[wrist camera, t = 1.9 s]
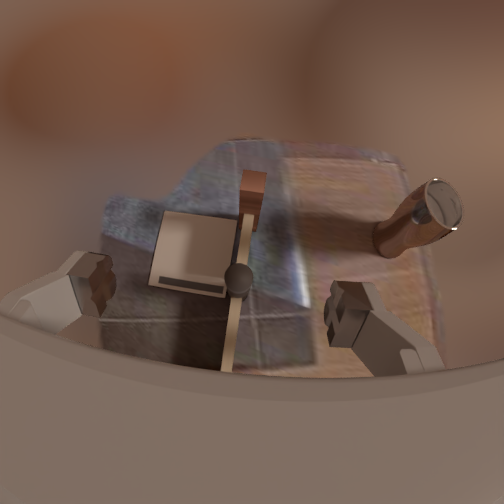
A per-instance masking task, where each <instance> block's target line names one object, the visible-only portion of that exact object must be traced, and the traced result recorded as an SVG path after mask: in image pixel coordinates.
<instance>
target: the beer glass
mask: <svg viewBox="0 0 504 504" xmlns="http://www.w3.org/2000/svg"><path fill="white" fill-rule="evenodd" d="M463 219H464V207H463V204H462V200H461V198H460V196H459V194H458V192H457V191H456V190H455V189H454V187H453V186H452V185H451V184H450V183H449V182H447V181H446V180H444V179H441V178H432V179H430V180H429V181H428V182H426V183H425V184H423V185H421V186H420V187H419V188H417V189H416V190H414V191H413V192H412V193H411V194H410V195H408V196H407V197H406V198H405V199H404V201H403V202H402V203H401V204H400V205H399V207H398V208H397V210H396V211H395V212H394V214H393V215H392V216H391V217H390V218H389V219H388V220H385V221H382V222H380V223H378V224H377V225H376V227H375V228H374V231H373V236H372V238H373V243H374V246H375V248H376V250H377V251H378V252H379V253H380V254H381V255H382V256H384V257H386V258H396V257H398V256H400V255H401V254H402V253H403V252H404V251H405V250H406V249H409V248H414V247H419V246H424V245H428V244H431V243H433V242H436V241H438V240H440V239H442V238H443V237H445V236H447V235H448V234H450V233H451V232H452V231H454V230H455V229H457V228H459V227H460V226H461V224H462V222H463Z"/></svg>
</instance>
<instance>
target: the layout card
mask: <svg viewBox="0 0 504 504" xmlns="http://www.w3.org/2000/svg"><path fill="white" fill-rule="evenodd" d="M236 227H237V220H231V219H224V218H216V217H209V216H202V215H194V214H187V213H179V212H171V211H165V212H164V216H163V220H162V224H161V228H160V232H159V236H158V241H157V245H156V250H155V254H154V259H153V264H152V268H151V273H150V279H149V284H148V285H151V286H156V287H162V288H167V289H173V290H178V291H184V292H190V293H196V294H202V295H208V296H214V297H220V298H225V296H226V289H227V287H226V284H225V280H224V275H225V271H226V270H227V268H228V267H229V266H230V264H231V258H232V251H233V245H234V239H235V233H236Z"/></svg>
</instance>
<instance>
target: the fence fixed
mask: <svg viewBox="0 0 504 504" xmlns="http://www.w3.org/2000/svg"><path fill="white" fill-rule="evenodd" d="M224 280H225V284H226V287H227V291H228V294H229V297H230V299H231V303H230V310H229V317H228V323H227V330H226V337H225V344H224V351H223V358H222V365H221V371H223V372H232V365H233V358H234V351H235V344H236V337H237V330H238V323H239V316H240V309H241V302H242V301H244V300H245V299H246V298H247V295H248V293H249V290H250V287H251V284H252V282H253V273H252V271H251V269H250V268H249V267H248V266H247V265H245V264H242V263H235V264H232V265H231V266H229V267H228V268H227V270H226V271H225V275H224Z"/></svg>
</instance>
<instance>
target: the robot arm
mask: <svg viewBox="0 0 504 504" xmlns="http://www.w3.org/2000/svg"><path fill="white" fill-rule="evenodd" d="M112 267H113V261H112V257H111V256H109V255H106V254H100V253H93V252H87V251H75V252H74V253H73V254H72V255H71V256H70V257H69V258H68V259H67V261H66V262H65V263H64V264H63V265H62V266H61V267H60V268H59V269H58V270H57V272H52V273H49V274H47V275H45V276H43V277H41V278H38V279H37V280H34V281H32V282H30V283H28V284H26V285H24V286H21V287H19V288H17V289H15V290H13V291H11V292H9V293H8V294H6V296H5V297H4V298H3V299H2V300H1V301H0V504H504V358H503V359H499V360H495V361H490V362H486V363H481V364H476V365H471V366H465V367H459V368H454V369H447V370H446V369H445V367H444V365H443V362H442V360H441V358H440V356H439V354H438V351H437V349H436V347H435V346H434V345H433V344H431V343H430V342H429V341H428V340H426V339H425V338H424V337H422V336H421V335H420V334H419V333H417V332H416V331H415V330H414V329H412V328H411V327H410V326H408V325H407V324H406V323H405V322H403V321H402V320H401V319H399V318H398V317H397V316H396V315H394V314H393V313H392V312H390V311H386V308H385V306H384V304H383V302H382V300H381V297H380V295H379V293H378V291H377V289H376V287H375V285H374V284H373V283H371V282H349V281H335V280H334V281H333V283H332V285H331V288H330V292H331V296H330V297H329V298H328V299H327V300H326V303H325V307H324V322H325V325H326V326H328V327H329V329H328V331H327V337H328V341H329V346H330V347H341V348H352V350H353V351H354V353H355V354H356V355H357V356H358V357H359V359H360V360H361V361H362V362H363V363H364V364H365V366H366V367H367V368H368V369H369V370H370V372H371V373H372V374H373V375H374V376H375V377H354V378H303V377H280V376H265V375H253V374H242V373H232V372H223V371H215V370H208V369H200V368H194V367H187V366H181V365H175V364H169V363H164V362H159V361H153V360H148V359H144V358H139V357H134V356H130V355H126V354H121V353H117V352H113V351H109V350H105V349H101V348H98V347H94V346H90V345H87V344H83V343H80V342H77V341H73V340H70V339H66V338H64V337H60V336H58V335H55V334H57V333H58V332H59V331H61V330H62V329H63V328H65V327H66V326H68V325H69V324H70V323H72V322H73V321H74V320H76V319H77V318H79V317H80V316H81V315H82V314H84V315H88V316H93V317H98V318H100V317H101V315H102V314H103V312H104V310H105V309H106V307H107V304H106V301H108V300H110V299H112V297H113V295H114V294H115V290H116V276H115V274H114V273H113V271H112V270H111V268H112Z"/></svg>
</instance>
